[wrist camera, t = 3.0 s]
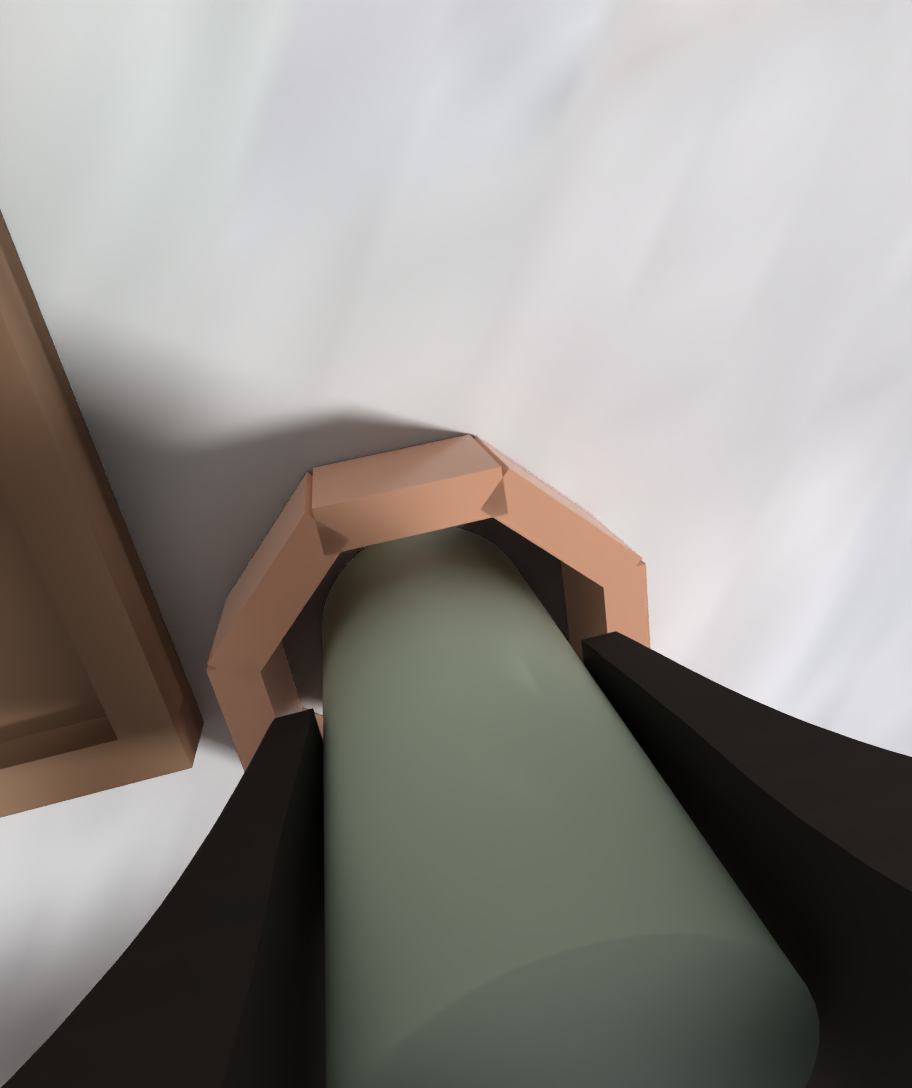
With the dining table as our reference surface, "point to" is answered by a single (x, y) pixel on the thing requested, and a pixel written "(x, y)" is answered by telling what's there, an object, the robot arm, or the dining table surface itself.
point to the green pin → (518, 859)
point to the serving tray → (71, 594)
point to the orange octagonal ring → (392, 513)
